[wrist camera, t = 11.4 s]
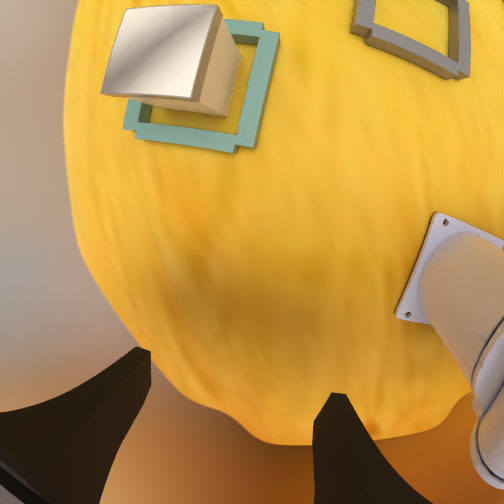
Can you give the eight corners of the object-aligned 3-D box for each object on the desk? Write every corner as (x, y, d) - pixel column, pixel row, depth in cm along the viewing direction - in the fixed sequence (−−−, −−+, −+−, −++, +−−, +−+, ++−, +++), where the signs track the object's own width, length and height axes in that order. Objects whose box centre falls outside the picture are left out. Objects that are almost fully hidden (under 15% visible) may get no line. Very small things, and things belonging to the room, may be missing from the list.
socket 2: (459, 4, 10) (468, -2, 8) (457, 86, 12) (469, 83, 11) (360, -40, 10) (365, -51, 8) (349, 38, 13) (354, 29, 11)
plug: (243, 56, 14) (217, 4, 7) (227, 118, 15) (190, 98, 9) (179, 51, 14) (125, 8, 8) (164, 109, 16) (100, 93, 9)
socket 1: (281, 35, 13) (281, 25, 12) (253, 156, 16) (251, 156, 15) (159, 26, 13) (150, 19, 12) (132, 137, 16) (121, 137, 15)
